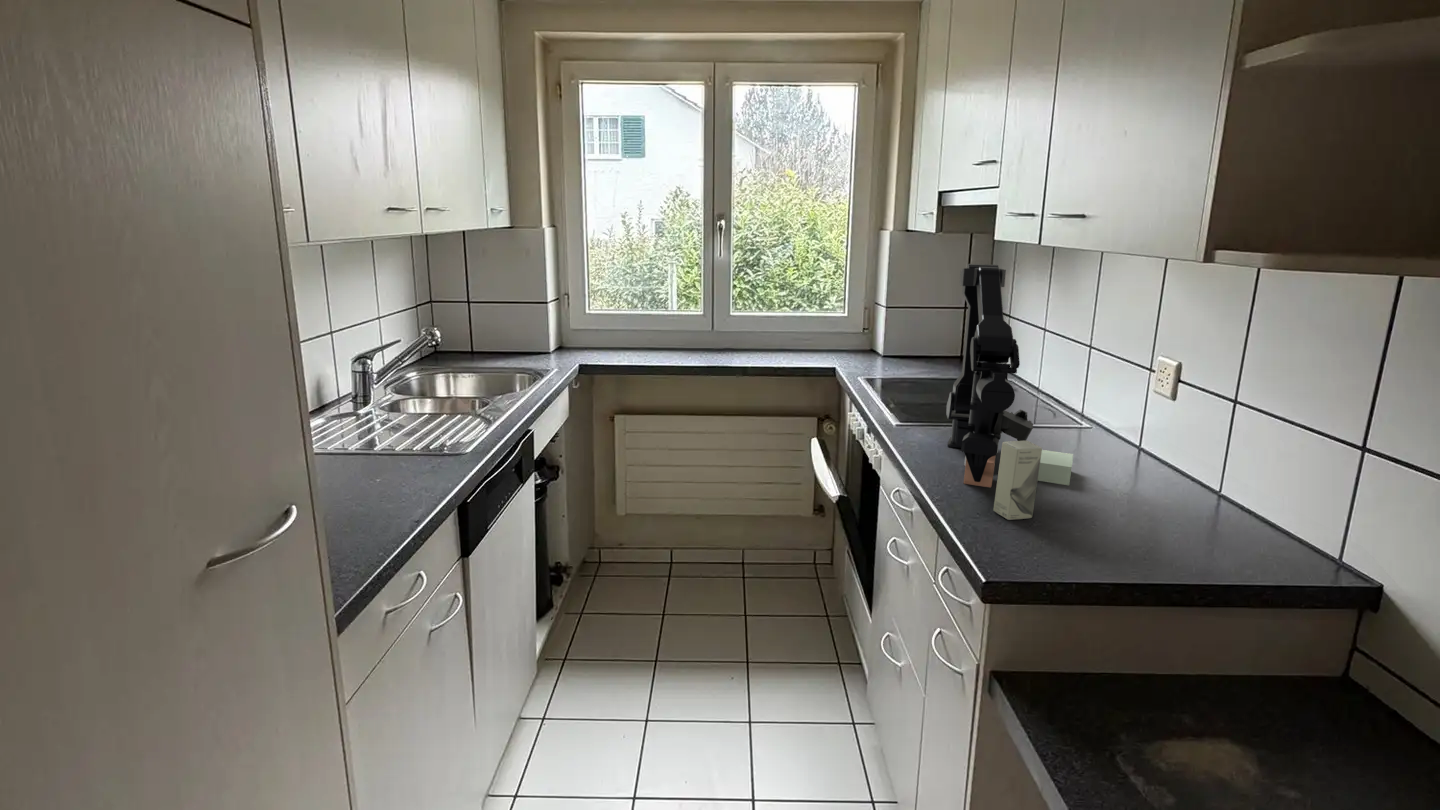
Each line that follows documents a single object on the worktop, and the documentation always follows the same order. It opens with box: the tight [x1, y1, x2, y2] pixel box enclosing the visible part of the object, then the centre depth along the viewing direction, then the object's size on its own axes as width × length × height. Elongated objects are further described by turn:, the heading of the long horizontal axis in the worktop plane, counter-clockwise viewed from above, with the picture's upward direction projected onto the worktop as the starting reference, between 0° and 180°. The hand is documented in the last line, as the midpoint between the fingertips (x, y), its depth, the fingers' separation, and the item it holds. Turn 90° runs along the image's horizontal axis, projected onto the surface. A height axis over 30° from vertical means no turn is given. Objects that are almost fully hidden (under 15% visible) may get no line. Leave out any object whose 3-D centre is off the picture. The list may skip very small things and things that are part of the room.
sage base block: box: [1037, 449, 1074, 486], centre depth 154 cm, size 9×9×4 cm
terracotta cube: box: [963, 456, 996, 488], centre depth 149 cm, size 5×5×5 cm
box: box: [992, 440, 1043, 521], centre depth 132 cm, size 5×4×13 cm
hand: (978, 476), depth 150 cm, fingers open, 6 cm apart
